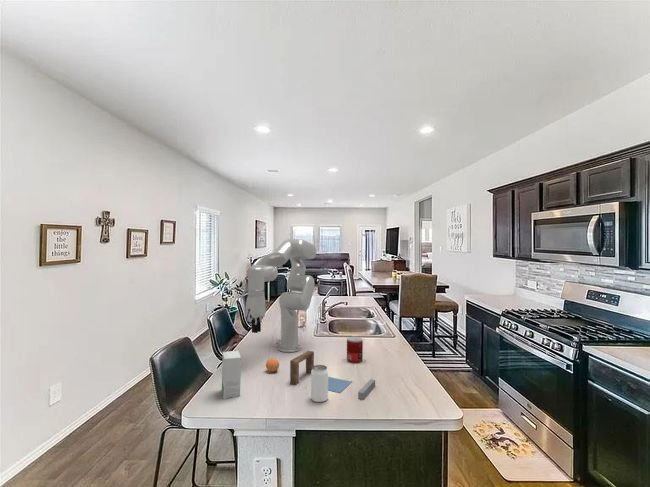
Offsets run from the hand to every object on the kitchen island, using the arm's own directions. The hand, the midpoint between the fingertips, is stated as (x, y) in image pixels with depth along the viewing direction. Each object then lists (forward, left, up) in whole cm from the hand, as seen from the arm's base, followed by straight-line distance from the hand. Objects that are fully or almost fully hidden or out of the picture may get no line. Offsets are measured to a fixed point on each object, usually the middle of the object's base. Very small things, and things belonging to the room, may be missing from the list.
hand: (256, 331), depth 161 cm
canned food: (+38, +31, -17) cm, 52 cm away
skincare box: (+9, -26, -17) cm, 32 cm away
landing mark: (+41, 0, -17) cm, 44 cm away
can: (+42, -14, -17) cm, 47 cm away
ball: (+10, 0, -14) cm, 17 cm away
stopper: (+56, 0, -17) cm, 58 cm away
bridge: (+26, 0, -17) cm, 31 cm away
